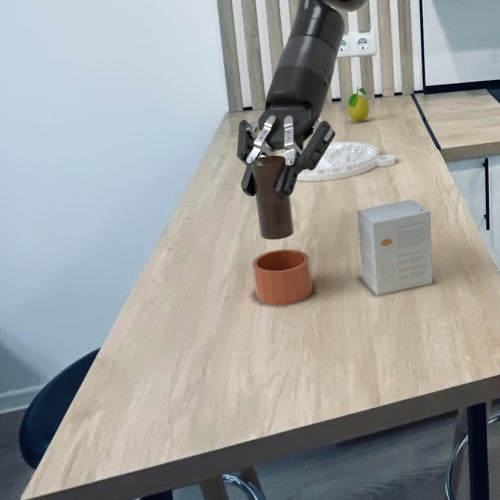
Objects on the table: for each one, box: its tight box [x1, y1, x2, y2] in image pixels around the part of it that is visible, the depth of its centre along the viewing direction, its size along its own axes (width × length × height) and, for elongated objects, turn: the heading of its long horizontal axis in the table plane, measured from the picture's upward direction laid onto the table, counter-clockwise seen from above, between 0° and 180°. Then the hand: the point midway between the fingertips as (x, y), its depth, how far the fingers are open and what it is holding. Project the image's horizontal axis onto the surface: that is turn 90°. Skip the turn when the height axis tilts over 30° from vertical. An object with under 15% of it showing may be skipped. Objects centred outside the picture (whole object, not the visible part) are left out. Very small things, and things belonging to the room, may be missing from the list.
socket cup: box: [251, 248, 313, 306], centre depth 89 cm, size 8×8×5 cm
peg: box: [251, 155, 295, 241], centre depth 85 cm, size 4×4×10 cm
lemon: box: [347, 86, 370, 123], centre depth 179 cm, size 7×6×10 cm
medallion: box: [277, 140, 396, 182], centre depth 145 cm, size 24×27×2 cm
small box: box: [357, 198, 433, 296], centre depth 87 cm, size 8×6×10 cm
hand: (264, 194), depth 83 cm, fingers closed on peg, 4 cm apart
